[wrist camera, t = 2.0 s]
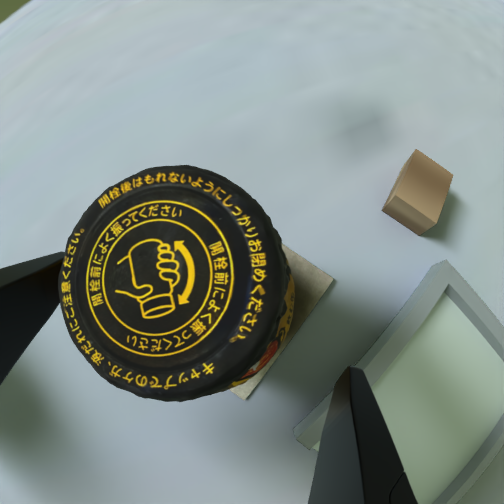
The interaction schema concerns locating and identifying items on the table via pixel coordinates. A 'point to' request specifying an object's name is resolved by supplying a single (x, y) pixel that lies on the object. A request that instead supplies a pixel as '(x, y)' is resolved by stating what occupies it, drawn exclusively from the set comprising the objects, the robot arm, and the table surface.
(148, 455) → the table surface
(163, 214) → the condiment
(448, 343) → the holder
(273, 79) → the table surface
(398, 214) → the tan block
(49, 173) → the table surface
